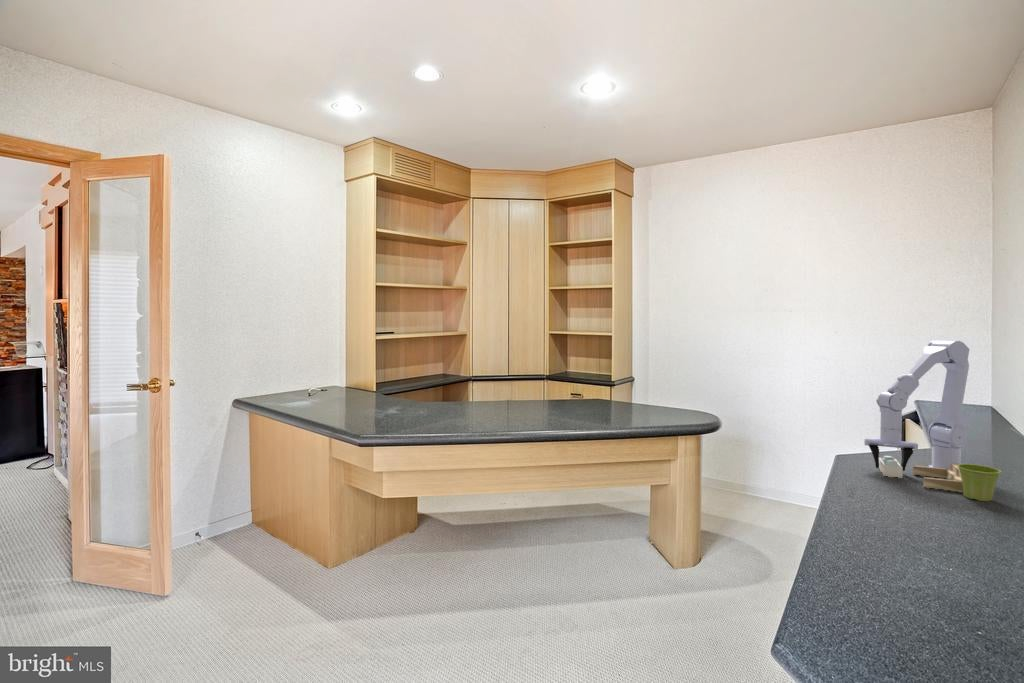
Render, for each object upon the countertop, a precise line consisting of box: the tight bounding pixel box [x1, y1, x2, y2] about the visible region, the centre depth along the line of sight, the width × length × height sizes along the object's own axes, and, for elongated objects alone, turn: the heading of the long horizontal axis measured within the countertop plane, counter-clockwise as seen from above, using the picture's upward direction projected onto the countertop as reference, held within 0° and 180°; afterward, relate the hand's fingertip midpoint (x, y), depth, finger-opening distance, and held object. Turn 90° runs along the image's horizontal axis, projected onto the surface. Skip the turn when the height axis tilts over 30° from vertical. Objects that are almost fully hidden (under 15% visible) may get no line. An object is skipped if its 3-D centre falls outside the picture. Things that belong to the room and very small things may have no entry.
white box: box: [878, 455, 904, 479], centre depth 180 cm, size 12×5×5 cm, turn 153°
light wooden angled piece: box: [912, 463, 963, 493], centre depth 168 cm, size 16×13×5 cm
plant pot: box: [957, 463, 1002, 502], centre depth 154 cm, size 9×9×9 cm
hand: (889, 468), depth 180 cm, fingers open, 6 cm apart
